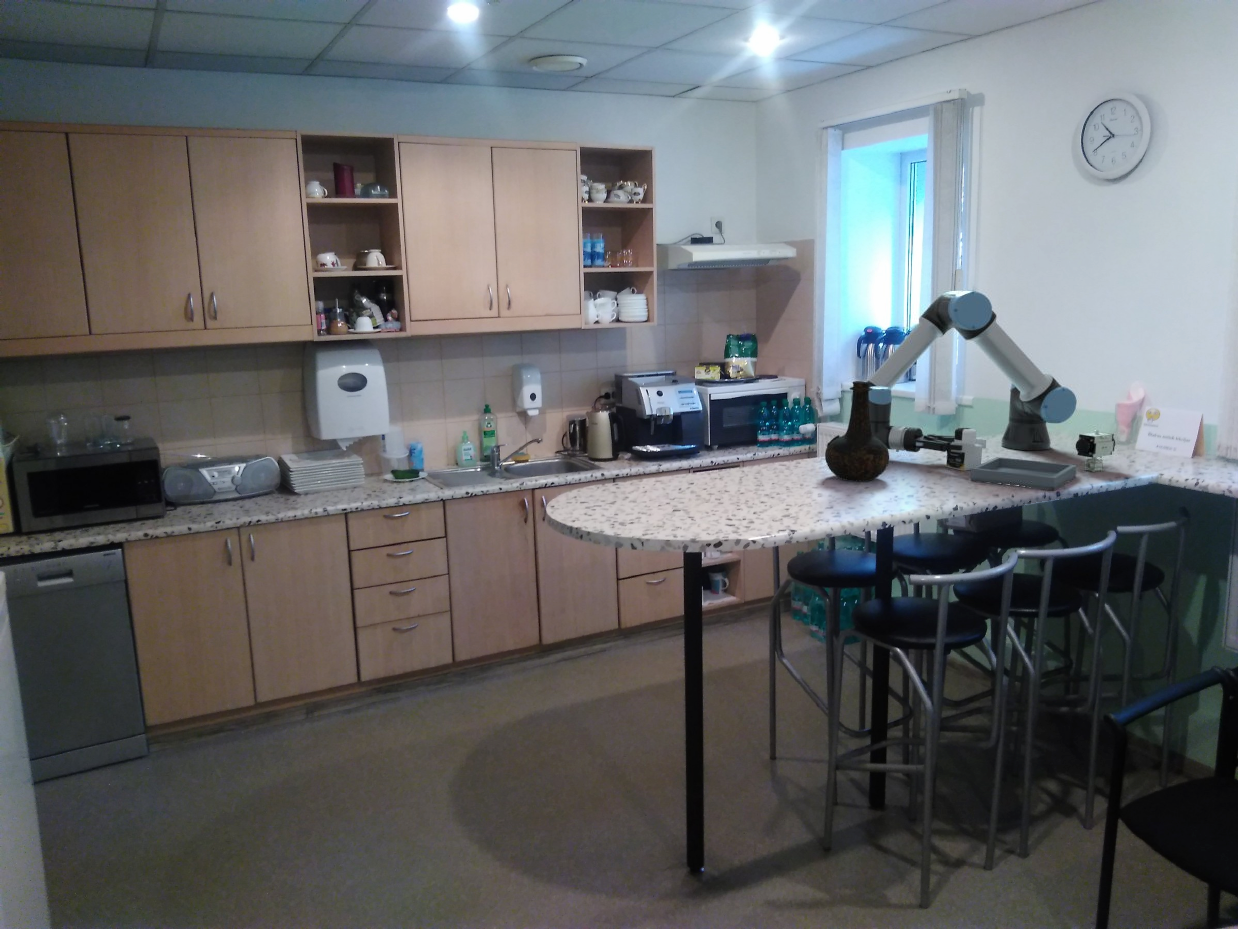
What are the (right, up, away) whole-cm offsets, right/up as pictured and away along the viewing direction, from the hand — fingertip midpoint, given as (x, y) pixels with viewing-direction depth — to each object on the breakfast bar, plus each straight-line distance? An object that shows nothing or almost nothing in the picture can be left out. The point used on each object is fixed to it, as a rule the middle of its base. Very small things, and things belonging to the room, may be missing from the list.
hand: (980, 446), depth 271 cm
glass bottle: (-39, -10, -9) cm, 41 cm away
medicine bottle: (-3, -7, +4) cm, 8 cm away
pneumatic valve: (+33, -7, -2) cm, 34 cm away
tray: (+7, -9, -12) cm, 17 cm away
